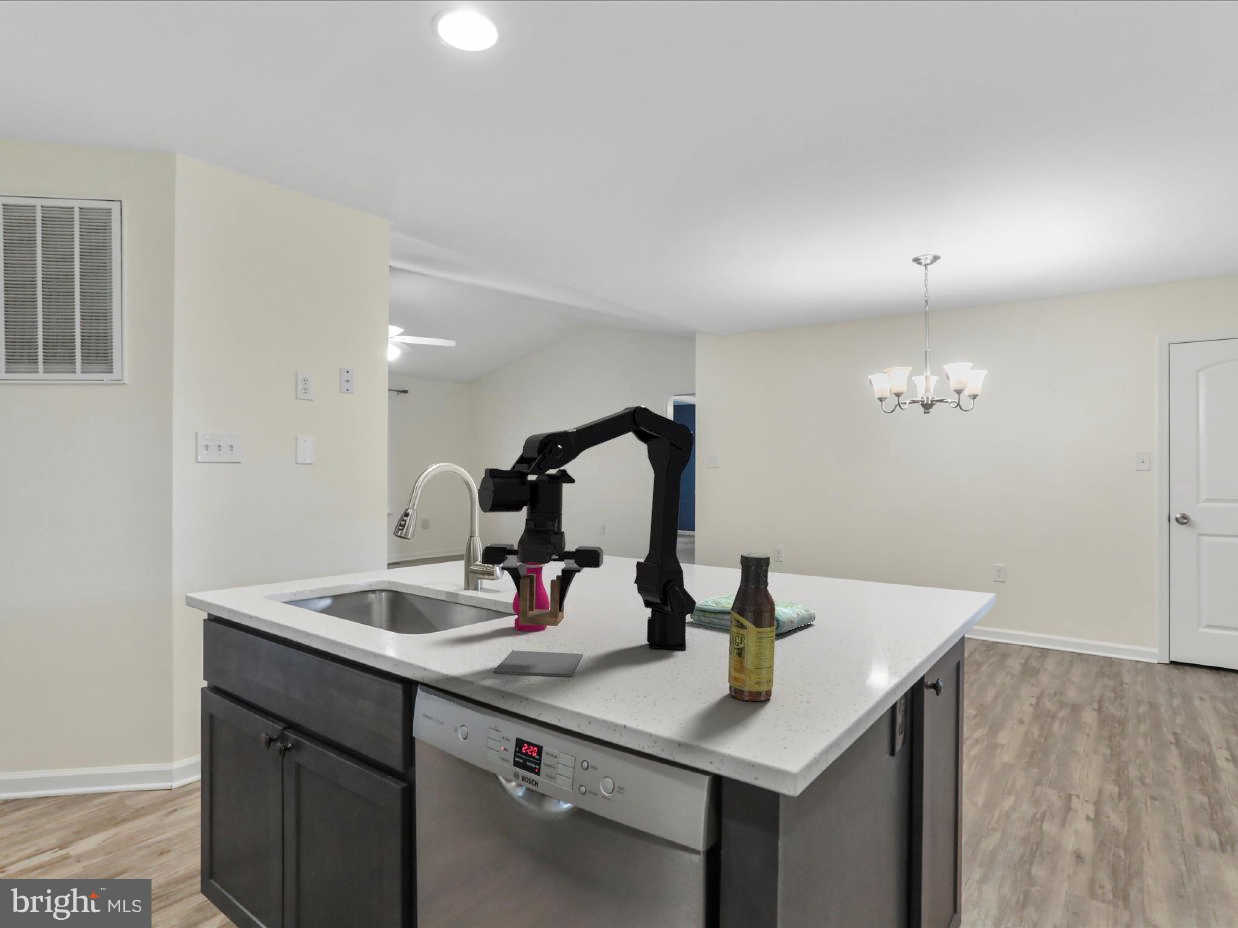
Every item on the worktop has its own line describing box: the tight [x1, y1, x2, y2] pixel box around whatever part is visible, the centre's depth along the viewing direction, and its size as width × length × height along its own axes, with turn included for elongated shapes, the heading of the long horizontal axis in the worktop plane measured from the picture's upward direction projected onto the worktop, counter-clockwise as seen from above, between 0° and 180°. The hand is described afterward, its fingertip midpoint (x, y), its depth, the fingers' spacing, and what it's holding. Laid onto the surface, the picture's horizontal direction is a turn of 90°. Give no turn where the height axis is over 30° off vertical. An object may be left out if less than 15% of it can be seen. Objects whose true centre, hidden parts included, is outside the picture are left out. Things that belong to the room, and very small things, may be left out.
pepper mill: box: [512, 544, 550, 632], centre depth 137 cm, size 7×7×20 cm
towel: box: [689, 594, 817, 635], centre depth 146 cm, size 18×21×5 cm
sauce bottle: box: [727, 552, 776, 702], centre depth 97 cm, size 6×6×20 cm
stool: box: [519, 574, 565, 627], centre depth 111 cm, size 6×6×7 cm
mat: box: [493, 650, 584, 678], centre depth 111 cm, size 12×12×1 cm
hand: (542, 609), depth 111 cm, fingers closed on stool, 5 cm apart
